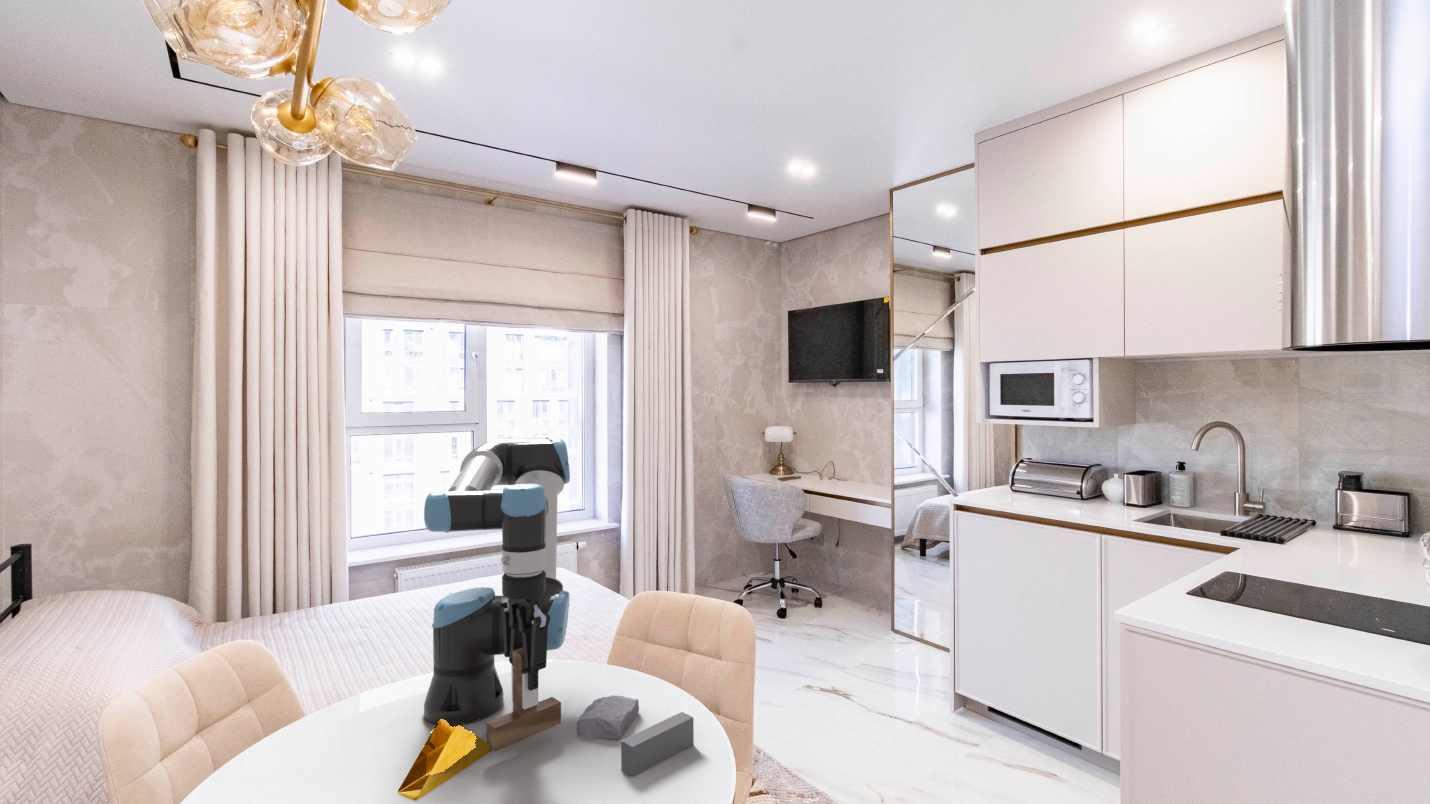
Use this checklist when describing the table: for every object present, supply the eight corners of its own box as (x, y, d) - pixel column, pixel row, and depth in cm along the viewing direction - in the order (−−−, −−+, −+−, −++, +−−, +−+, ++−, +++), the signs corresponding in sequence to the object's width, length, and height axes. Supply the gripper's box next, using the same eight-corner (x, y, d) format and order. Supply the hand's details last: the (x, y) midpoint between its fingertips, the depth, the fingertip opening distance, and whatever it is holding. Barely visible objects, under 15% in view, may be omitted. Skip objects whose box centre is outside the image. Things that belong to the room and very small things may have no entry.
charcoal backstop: (621, 770, 108) (621, 740, 108) (682, 739, 118) (682, 711, 118) (632, 777, 106) (632, 746, 106) (693, 744, 116) (693, 717, 116)
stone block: (573, 748, 119) (623, 742, 117) (568, 721, 119) (618, 715, 118) (597, 720, 131) (643, 714, 129) (593, 696, 131) (639, 689, 129)
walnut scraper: (486, 745, 111) (486, 658, 111) (552, 718, 121) (551, 638, 121) (494, 751, 109) (494, 663, 109) (561, 723, 119) (560, 642, 118)
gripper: (483, 567, 118) (483, 695, 118) (528, 585, 107) (529, 726, 107) (520, 560, 123) (521, 682, 123) (567, 575, 112) (568, 710, 112)
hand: (524, 702), depth 115 cm, fingers closed on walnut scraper, 3 cm apart
